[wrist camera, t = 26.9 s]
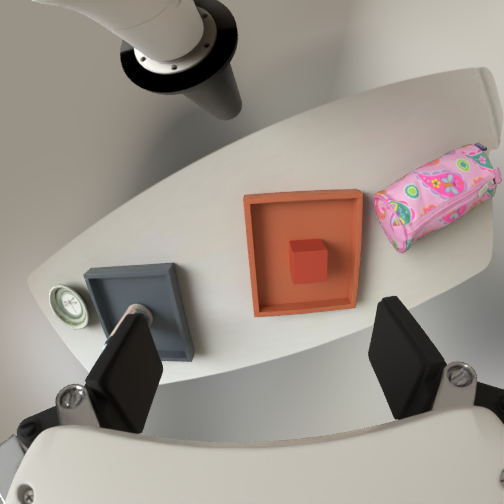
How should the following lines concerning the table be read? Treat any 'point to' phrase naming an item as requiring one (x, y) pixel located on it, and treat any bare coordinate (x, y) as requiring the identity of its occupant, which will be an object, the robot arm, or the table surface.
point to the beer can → (133, 310)
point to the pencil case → (435, 195)
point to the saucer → (68, 307)
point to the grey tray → (150, 296)
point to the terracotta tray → (301, 228)
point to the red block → (308, 261)
